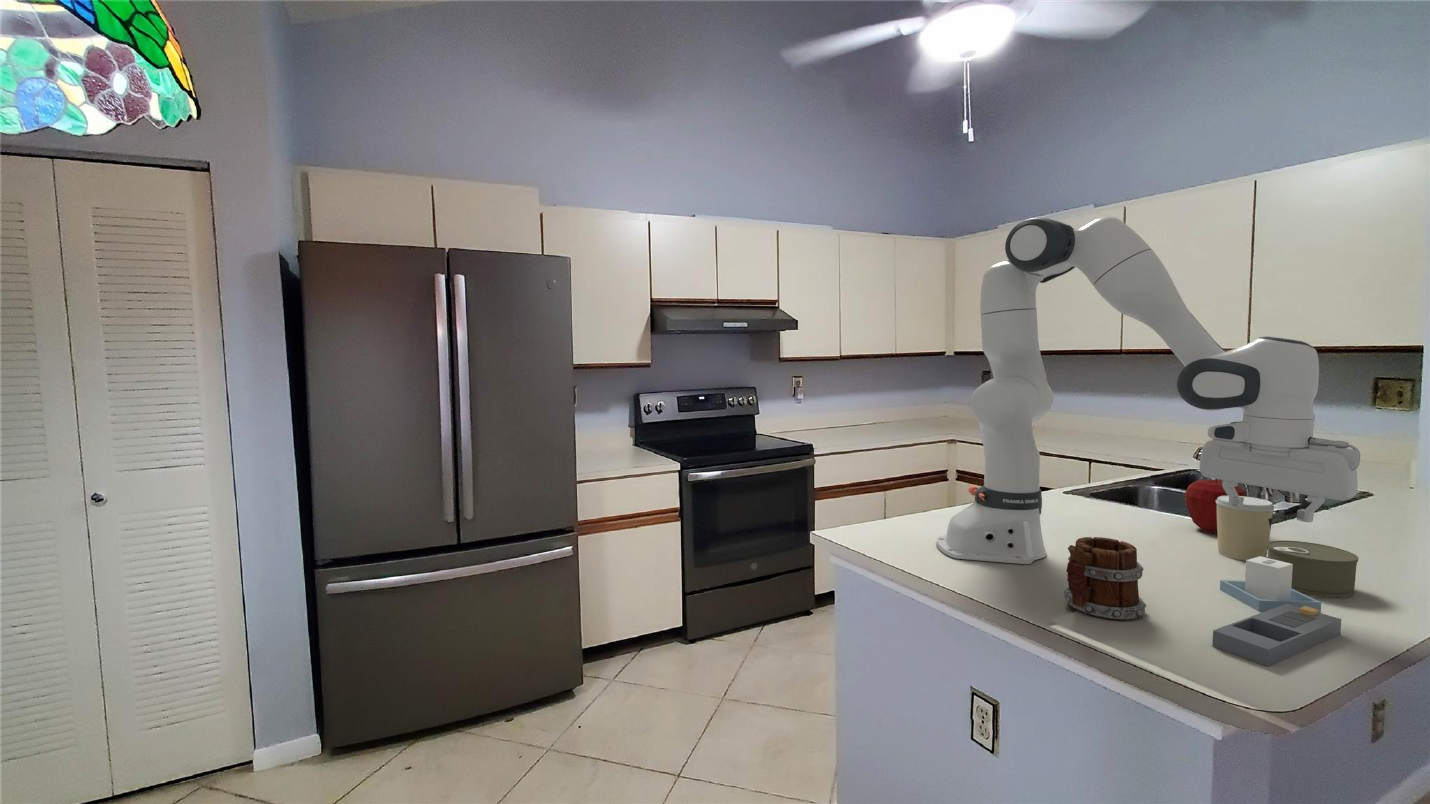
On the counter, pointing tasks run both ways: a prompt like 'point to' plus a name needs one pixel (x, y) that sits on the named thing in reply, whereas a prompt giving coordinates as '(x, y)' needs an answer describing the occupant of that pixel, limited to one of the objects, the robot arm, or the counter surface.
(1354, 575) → the can
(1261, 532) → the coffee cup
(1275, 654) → the grey compartment box
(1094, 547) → the mug
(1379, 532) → the counter surface
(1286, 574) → the charger
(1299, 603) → the tray
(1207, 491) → the apple
